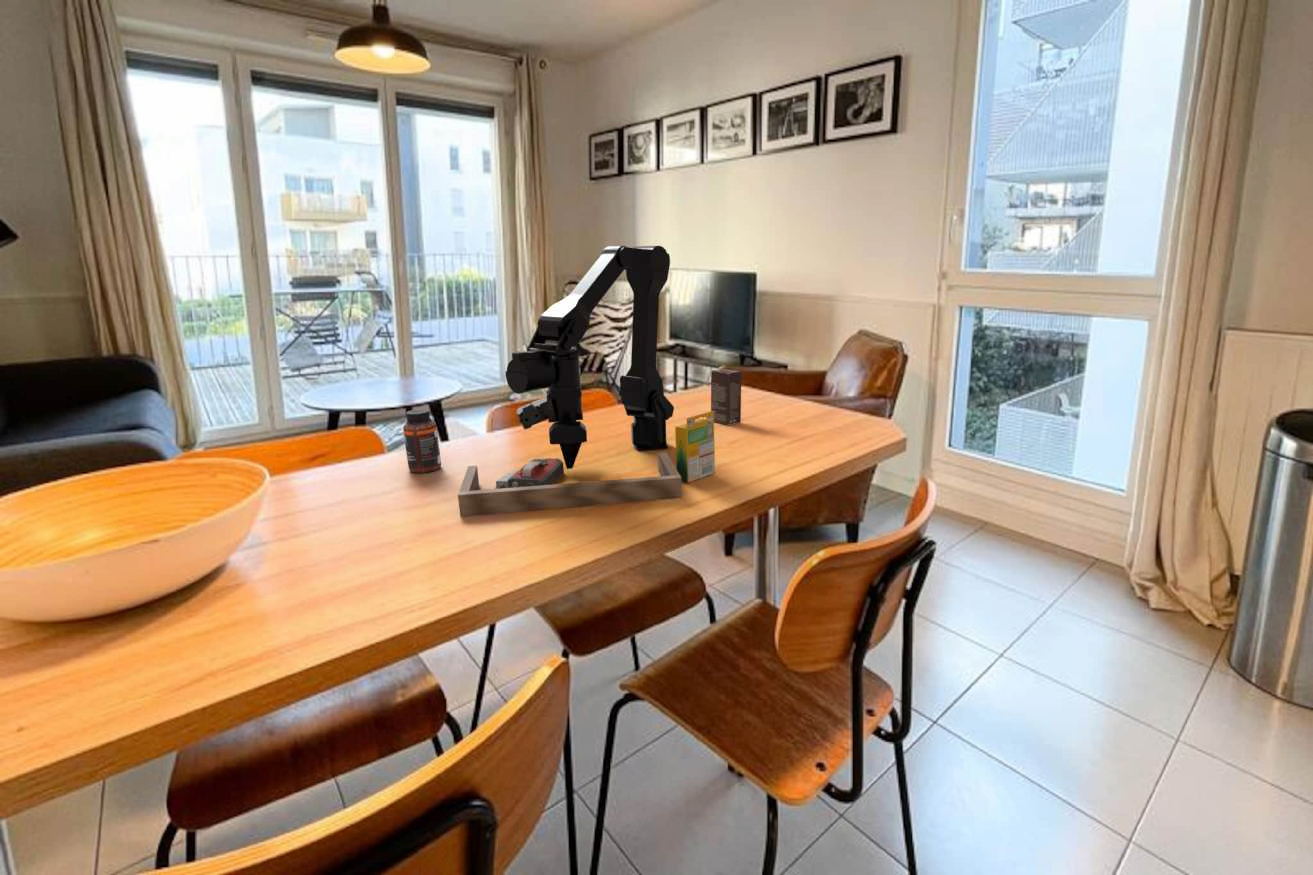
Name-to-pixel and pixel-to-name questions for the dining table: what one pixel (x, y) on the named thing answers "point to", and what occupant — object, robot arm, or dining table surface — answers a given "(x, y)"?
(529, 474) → the walkie-talkie
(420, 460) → the supplement bottle
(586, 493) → the brown shallow tray
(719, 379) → the box
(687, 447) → the crayon box
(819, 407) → the dining table surface
